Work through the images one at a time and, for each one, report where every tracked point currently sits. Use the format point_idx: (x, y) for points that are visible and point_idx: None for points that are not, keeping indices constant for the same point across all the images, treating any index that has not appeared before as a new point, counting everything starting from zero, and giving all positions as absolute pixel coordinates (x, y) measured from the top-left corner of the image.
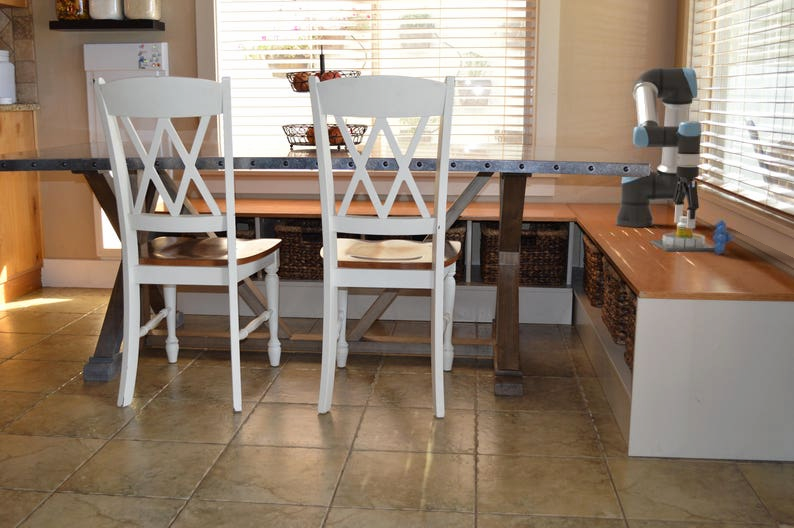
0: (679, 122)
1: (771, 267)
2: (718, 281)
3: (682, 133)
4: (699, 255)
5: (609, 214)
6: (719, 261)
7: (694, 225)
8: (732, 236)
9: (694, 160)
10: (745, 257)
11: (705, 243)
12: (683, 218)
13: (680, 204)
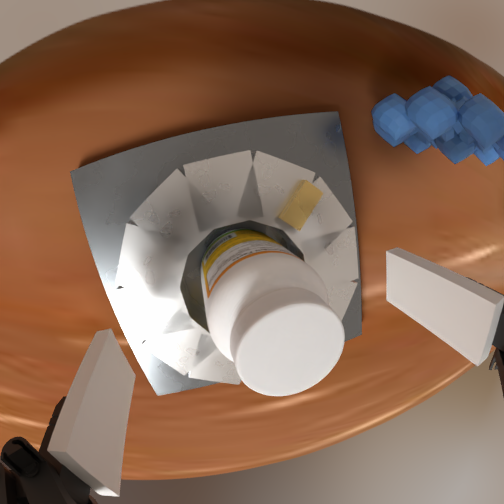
0: None
1: (494, 81)
2: None
3: None
4: (423, 213)
5: None
6: (478, 173)
7: (409, 257)
8: (454, 78)
9: None
10: (426, 68)
11: (199, 144)
12: (333, 361)
13: (66, 470)
